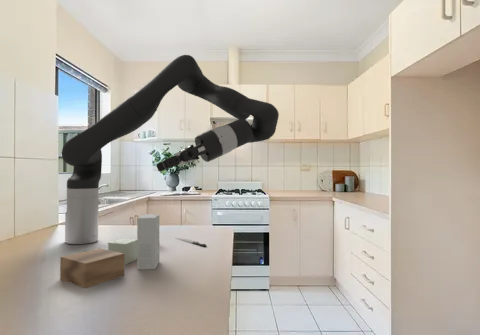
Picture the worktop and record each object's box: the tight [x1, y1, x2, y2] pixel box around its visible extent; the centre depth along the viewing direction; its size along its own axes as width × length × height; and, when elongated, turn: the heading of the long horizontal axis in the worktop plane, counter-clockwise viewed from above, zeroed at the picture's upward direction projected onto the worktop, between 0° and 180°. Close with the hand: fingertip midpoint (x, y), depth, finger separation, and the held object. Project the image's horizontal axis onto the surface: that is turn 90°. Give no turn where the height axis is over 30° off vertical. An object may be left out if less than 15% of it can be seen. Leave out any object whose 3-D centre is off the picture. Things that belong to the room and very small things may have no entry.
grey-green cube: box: [107, 238, 137, 265], centre depth 81 cm, size 5×5×5 cm
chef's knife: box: [174, 237, 207, 248], centre depth 103 cm, size 19×1×3 cm
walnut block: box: [59, 247, 125, 289], centre depth 68 cm, size 9×9×5 cm
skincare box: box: [136, 213, 160, 271], centre depth 76 cm, size 6×4×12 cm
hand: (160, 166), depth 78 cm, fingers open, 8 cm apart
